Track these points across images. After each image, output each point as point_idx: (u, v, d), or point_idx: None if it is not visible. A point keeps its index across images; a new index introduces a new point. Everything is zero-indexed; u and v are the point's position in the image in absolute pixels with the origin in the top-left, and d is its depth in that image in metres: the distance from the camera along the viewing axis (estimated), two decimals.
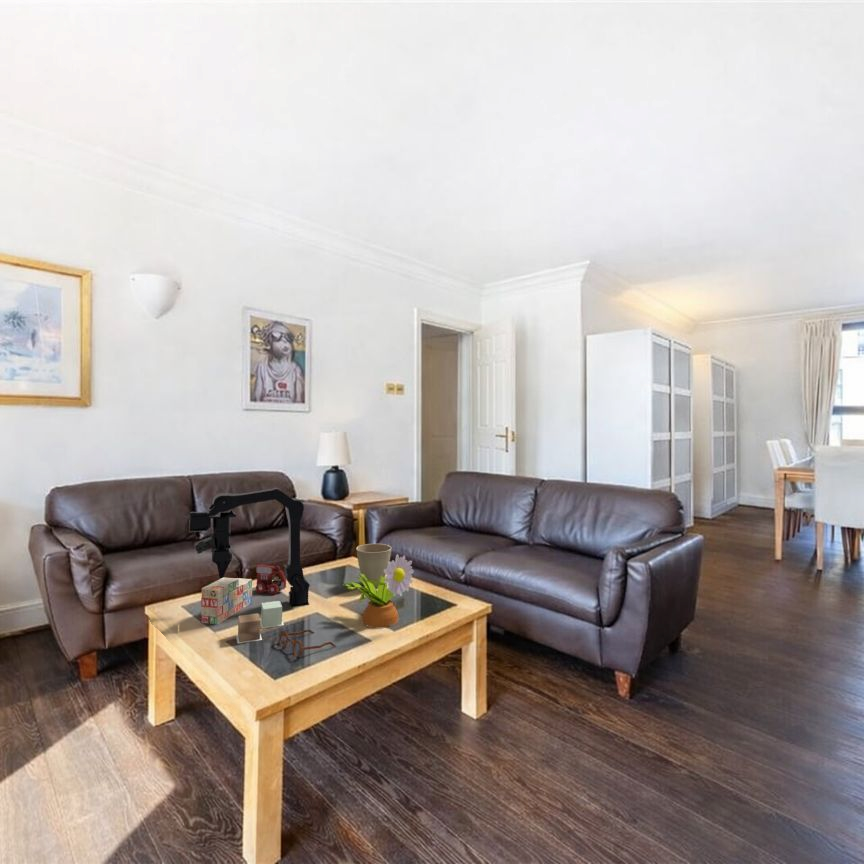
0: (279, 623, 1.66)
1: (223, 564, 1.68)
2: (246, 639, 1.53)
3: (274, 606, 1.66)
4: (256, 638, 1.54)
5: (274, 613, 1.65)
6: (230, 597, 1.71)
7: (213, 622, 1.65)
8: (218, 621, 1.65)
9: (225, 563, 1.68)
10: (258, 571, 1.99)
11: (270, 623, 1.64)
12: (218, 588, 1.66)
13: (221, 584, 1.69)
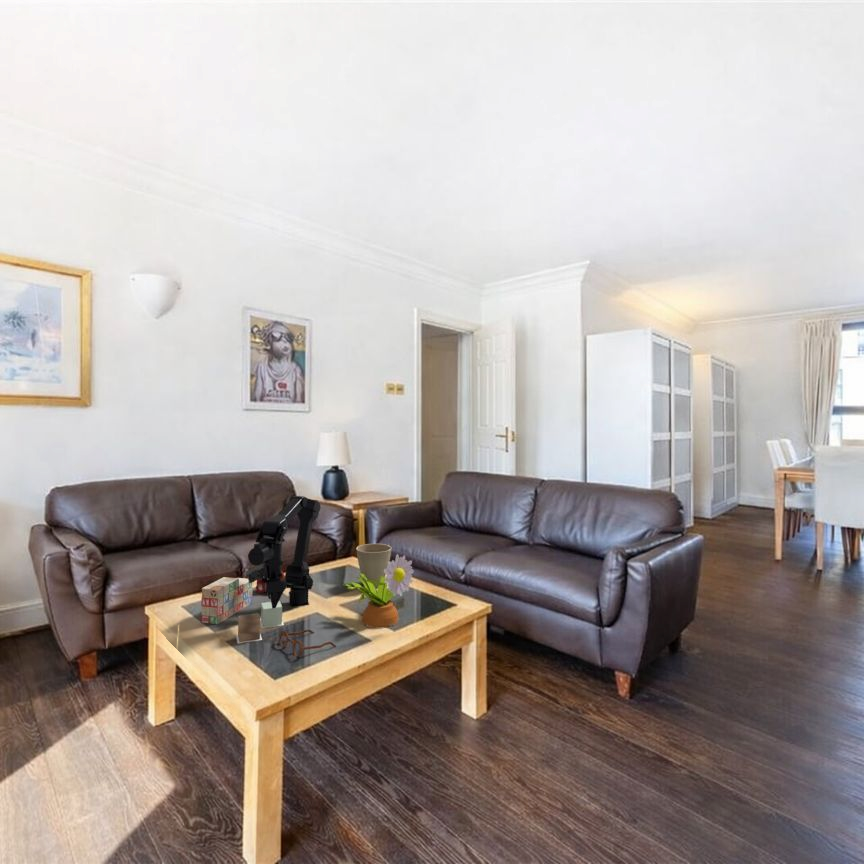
0: (279, 623, 1.66)
1: (276, 594, 1.62)
2: (246, 639, 1.53)
3: None
4: (256, 638, 1.54)
5: (274, 613, 1.65)
6: (230, 597, 1.72)
7: (213, 622, 1.65)
8: (218, 621, 1.65)
9: (278, 593, 1.62)
10: None
11: (270, 623, 1.64)
12: (218, 588, 1.66)
13: (221, 584, 1.69)
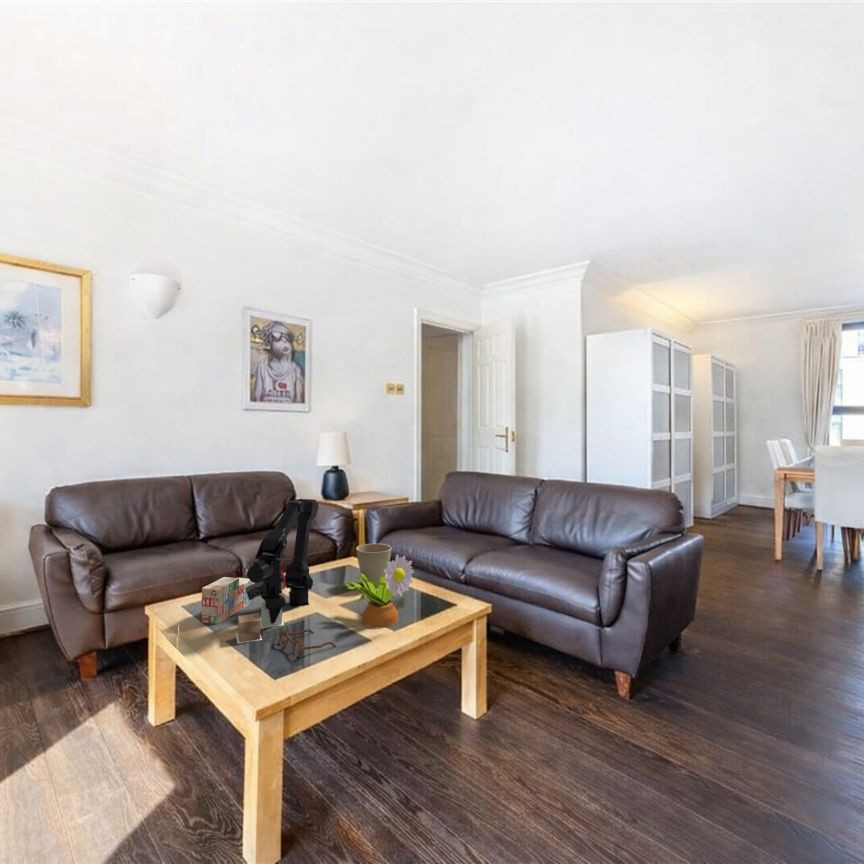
0: (279, 623, 1.66)
1: (275, 609, 1.64)
2: (246, 639, 1.53)
3: None
4: (256, 638, 1.54)
5: None
6: (231, 596, 1.72)
7: (213, 621, 1.65)
8: (218, 620, 1.66)
9: (277, 608, 1.64)
10: None
11: (270, 623, 1.64)
12: (218, 588, 1.66)
13: (221, 584, 1.69)
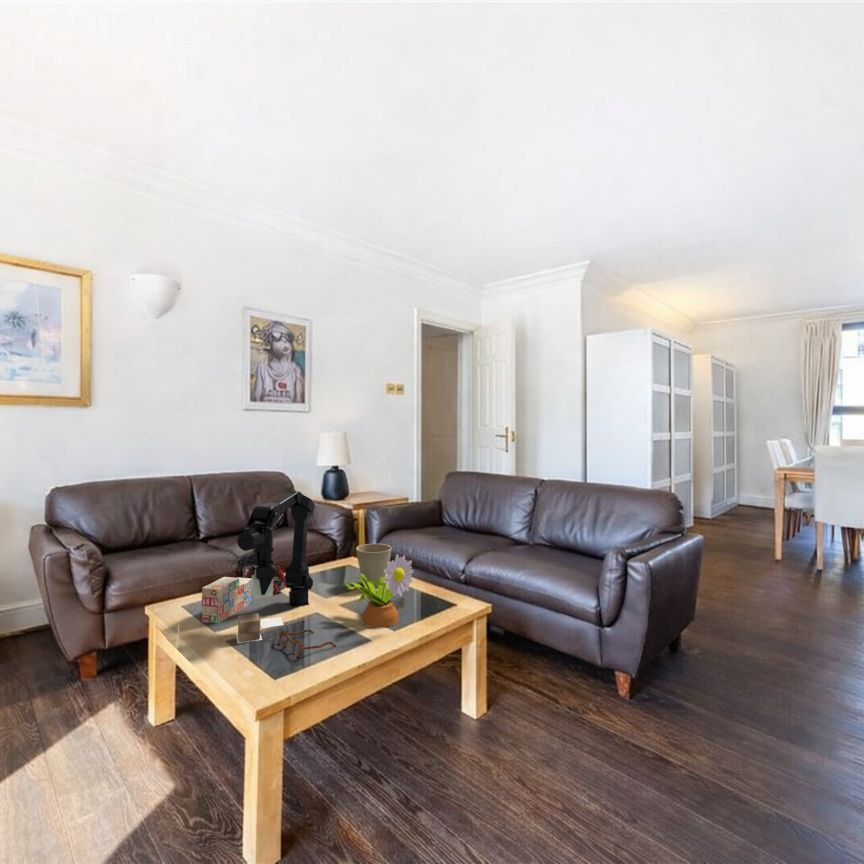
0: (270, 595, 1.60)
1: (266, 580, 1.58)
2: (246, 639, 1.53)
3: None
4: (256, 638, 1.54)
5: None
6: (231, 596, 1.72)
7: (214, 621, 1.65)
8: (218, 620, 1.66)
9: (268, 579, 1.58)
10: None
11: (260, 594, 1.59)
12: (219, 587, 1.67)
13: (221, 584, 1.70)
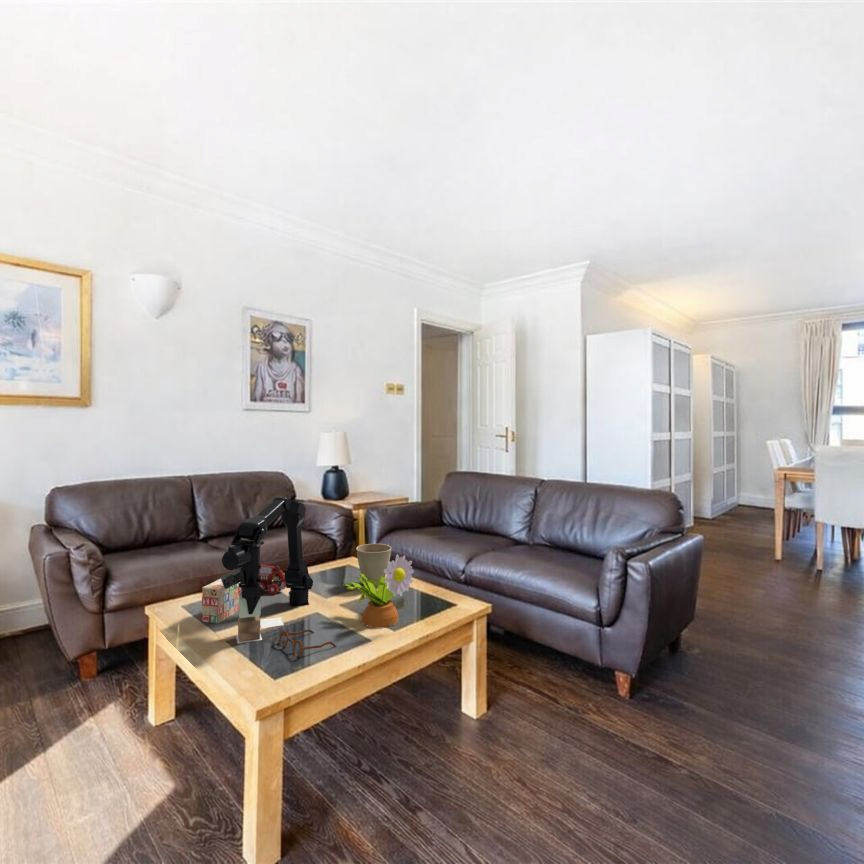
0: (257, 614, 1.54)
1: (253, 599, 1.52)
2: (246, 639, 1.53)
3: None
4: (256, 638, 1.54)
5: None
6: (231, 596, 1.72)
7: (214, 621, 1.66)
8: (219, 620, 1.66)
9: (255, 598, 1.52)
10: None
11: (248, 614, 1.53)
12: (219, 587, 1.67)
13: (221, 584, 1.70)
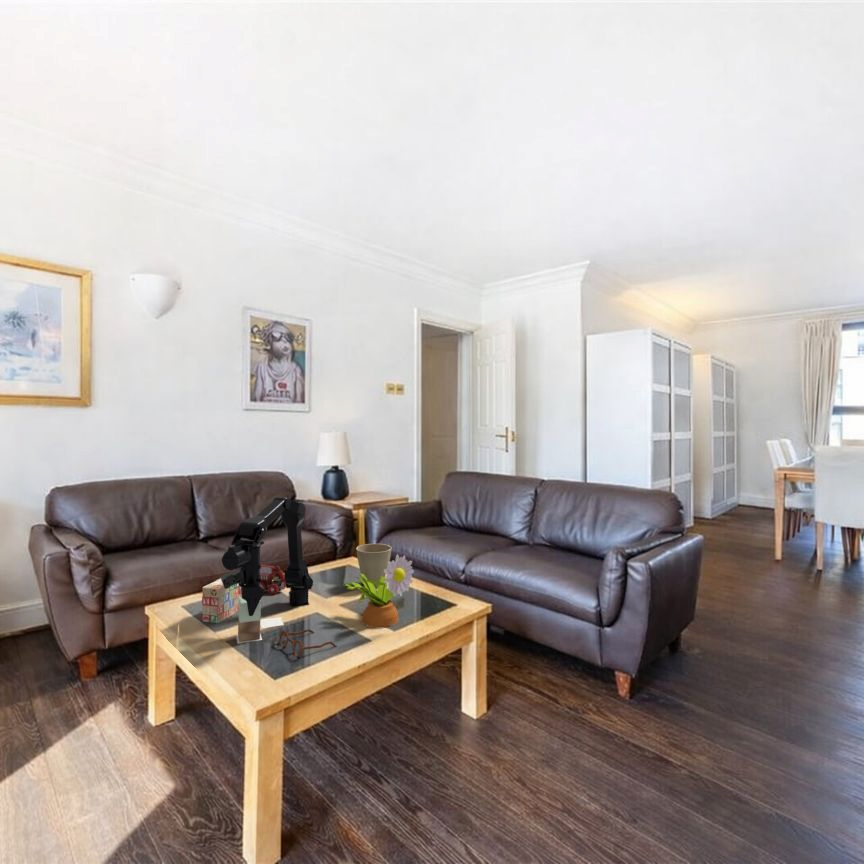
0: (257, 619, 1.54)
1: (253, 600, 1.51)
2: (246, 639, 1.53)
3: None
4: (256, 638, 1.54)
5: None
6: (231, 596, 1.72)
7: (214, 621, 1.66)
8: (219, 620, 1.66)
9: (256, 599, 1.51)
10: None
11: (247, 618, 1.53)
12: (219, 587, 1.67)
13: (221, 583, 1.70)
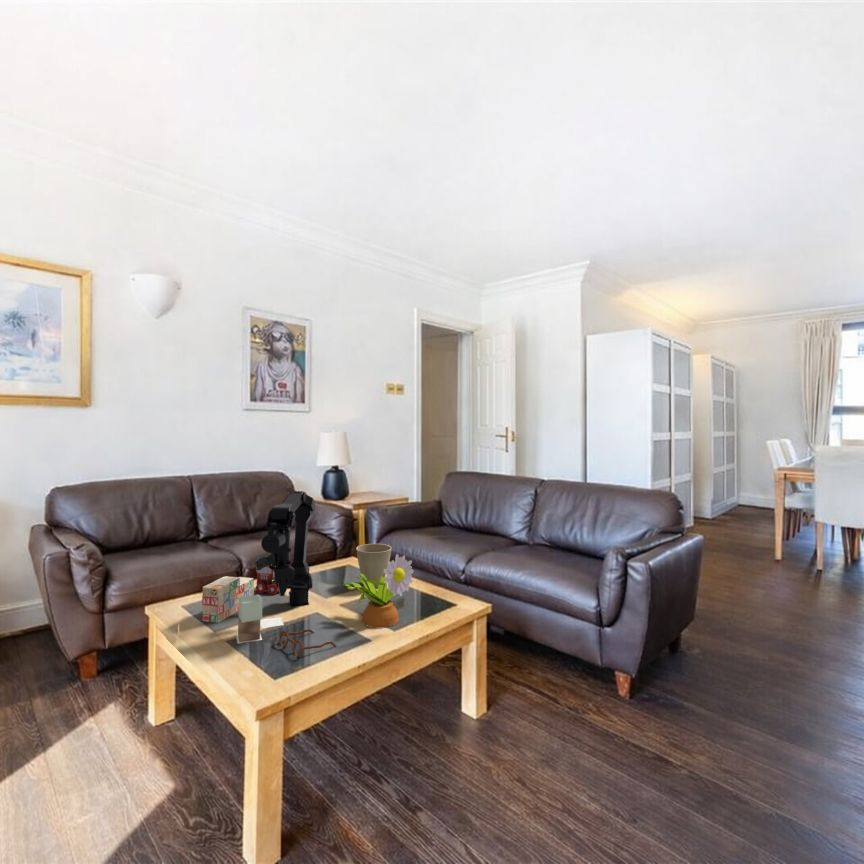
0: (259, 618, 1.55)
1: (284, 581, 1.58)
2: (246, 639, 1.53)
3: (253, 600, 1.55)
4: (256, 638, 1.54)
5: (254, 607, 1.54)
6: (231, 596, 1.73)
7: (214, 620, 1.66)
8: (219, 619, 1.66)
9: (286, 580, 1.58)
10: (258, 571, 1.99)
11: (249, 618, 1.53)
12: (219, 587, 1.67)
13: (222, 583, 1.70)
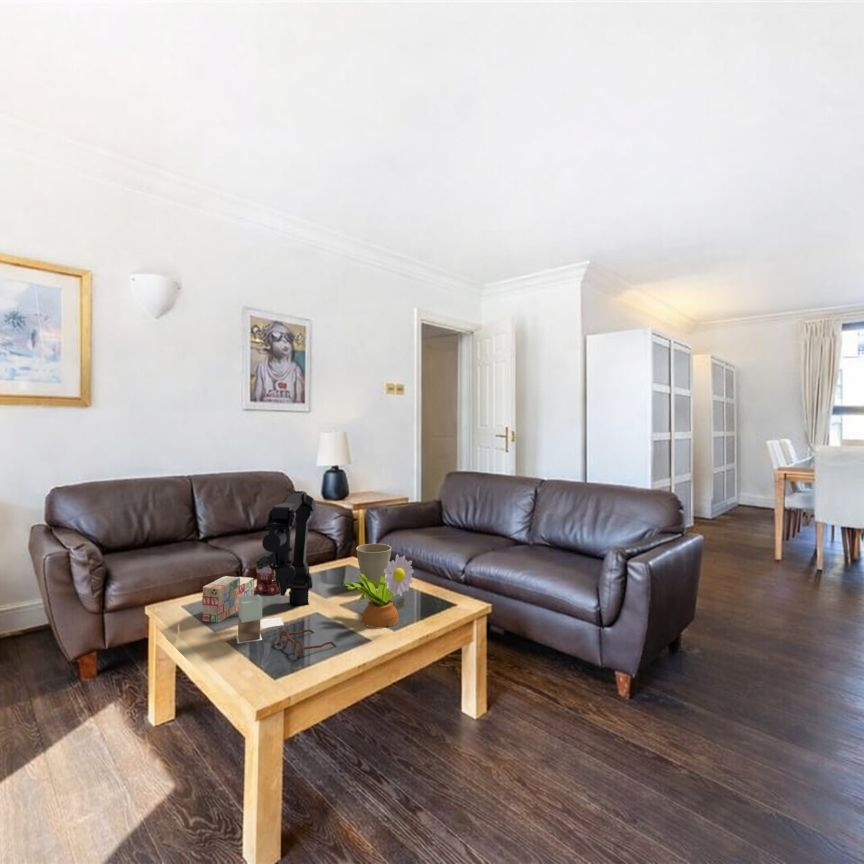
0: (259, 618, 1.55)
1: (285, 581, 1.58)
2: (246, 639, 1.53)
3: (253, 600, 1.55)
4: (256, 638, 1.54)
5: (254, 607, 1.54)
6: (231, 595, 1.73)
7: (214, 620, 1.66)
8: (219, 619, 1.67)
9: (287, 580, 1.58)
10: (258, 571, 1.99)
11: (249, 618, 1.53)
12: (219, 587, 1.67)
13: (222, 583, 1.70)
